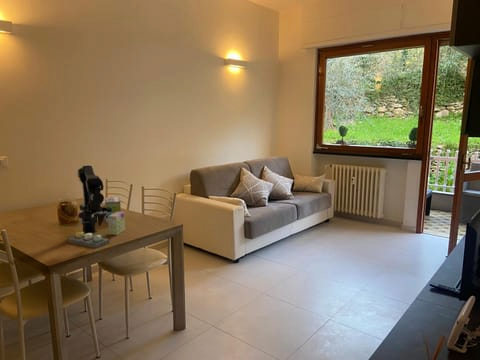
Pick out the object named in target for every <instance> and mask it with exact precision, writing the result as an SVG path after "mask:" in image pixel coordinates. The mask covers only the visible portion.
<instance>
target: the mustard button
mask: <svg viewBox="0 0 480 360" xmlns="http://www.w3.org/2000/svg"><path fill="white" fill-rule="evenodd" d="M84 234H85V233H84V232H83V230H82V231H76V232H75V236H76V238H77V239H80V238H84Z"/></svg>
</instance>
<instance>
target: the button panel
mask: <svg viewBox="0 0 480 360" xmlns="http://www.w3.org/2000/svg"><path fill="white" fill-rule="evenodd" d="M93 236H94V235H92V238H93ZM101 240H102V241H101V242H94V240H93V239H92V240H85V238H80V239H77V238H76V235H74V236H70V237H68V238H67V242H68V243H71V244H76V245H79V246H80V245H81V246H85V247H88V248H89V247H90V248H95V249H97V248H100V247H102V246H105V245H106V244H110V243H111V242H110V239H109V238H104V237H101Z"/></svg>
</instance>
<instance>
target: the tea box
mask: <svg viewBox="0 0 480 360" xmlns="http://www.w3.org/2000/svg"><path fill="white" fill-rule="evenodd" d="M104 206H109V207H111V208H112V212H107V211H105V213H107V215H106V216H105V223H106V224H108V216H109V215H111V214H113V213H115V212H122V209H121V208H122V207H121V206H122V205H121V199H120V196H119V197H118V196H117V197H116V196H115V197H104Z"/></svg>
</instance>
